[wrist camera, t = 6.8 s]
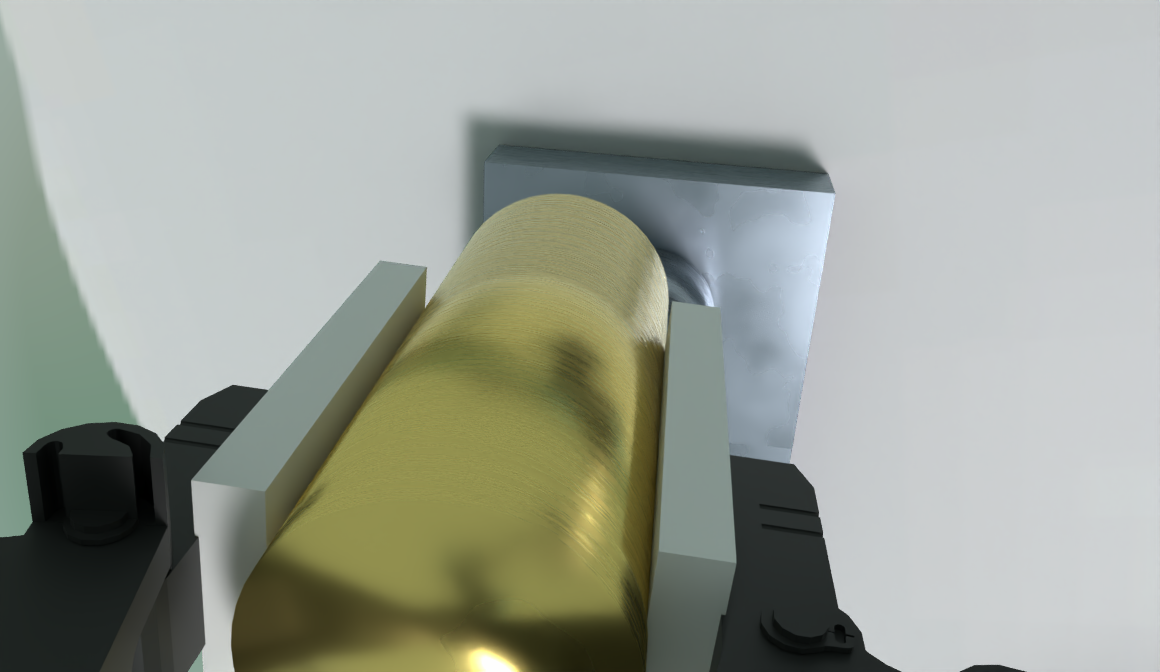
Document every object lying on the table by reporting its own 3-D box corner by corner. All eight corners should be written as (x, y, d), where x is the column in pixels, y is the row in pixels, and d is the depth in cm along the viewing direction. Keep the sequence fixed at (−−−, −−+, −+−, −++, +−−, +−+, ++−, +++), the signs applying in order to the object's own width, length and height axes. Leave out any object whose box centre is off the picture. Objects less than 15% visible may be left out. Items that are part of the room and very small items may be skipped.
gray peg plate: (499, 144, 37) (444, 209, 29) (828, 173, 36) (855, 248, 28) (490, 542, 44) (445, 671, 37) (761, 576, 43) (769, 716, 36)
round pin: (462, 179, 18) (223, 468, 9) (684, 210, 18) (674, 538, 9) (450, 377, 20) (237, 794, 10) (652, 407, 19) (616, 859, 10)
